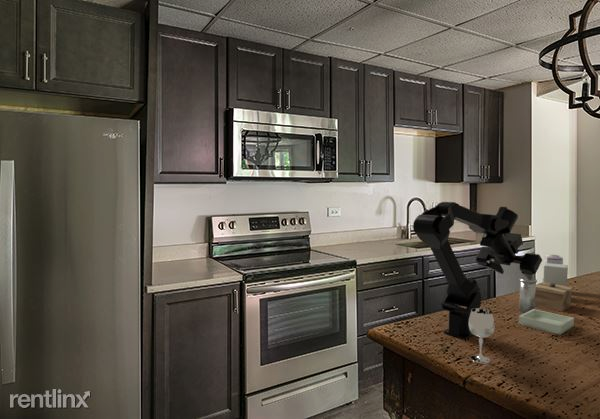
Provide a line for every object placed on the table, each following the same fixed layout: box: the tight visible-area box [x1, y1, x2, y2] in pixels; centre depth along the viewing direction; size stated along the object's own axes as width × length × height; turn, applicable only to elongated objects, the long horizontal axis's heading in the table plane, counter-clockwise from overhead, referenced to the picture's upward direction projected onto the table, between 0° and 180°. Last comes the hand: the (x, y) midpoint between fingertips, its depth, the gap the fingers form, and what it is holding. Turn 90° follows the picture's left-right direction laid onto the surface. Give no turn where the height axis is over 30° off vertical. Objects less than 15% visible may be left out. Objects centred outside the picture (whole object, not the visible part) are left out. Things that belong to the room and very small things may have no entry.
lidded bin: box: [535, 281, 574, 312], centre depth 138 cm, size 10×10×8 cm
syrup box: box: [543, 254, 564, 266], centre depth 157 cm, size 6×6×14 cm
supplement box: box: [542, 263, 569, 286], centre depth 148 cm, size 7×7×13 cm
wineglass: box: [468, 307, 495, 365], centre depth 95 cm, size 6×6×12 cm
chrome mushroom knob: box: [518, 277, 538, 314], centre depth 132 cm, size 5×5×11 cm
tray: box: [518, 308, 575, 336], centre depth 119 cm, size 11×11×2 cm
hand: (516, 275), depth 127 cm, fingers open, 9 cm apart
